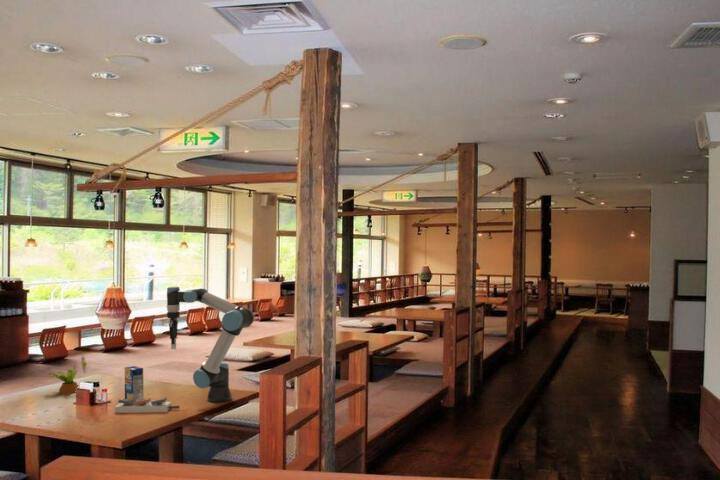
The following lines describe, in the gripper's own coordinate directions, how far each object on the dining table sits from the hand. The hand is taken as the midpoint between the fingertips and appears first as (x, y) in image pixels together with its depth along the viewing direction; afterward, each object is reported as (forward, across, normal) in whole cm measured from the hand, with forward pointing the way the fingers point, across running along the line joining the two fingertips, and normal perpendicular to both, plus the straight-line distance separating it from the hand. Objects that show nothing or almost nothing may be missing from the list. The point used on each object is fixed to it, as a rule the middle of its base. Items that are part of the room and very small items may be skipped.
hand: (173, 349), depth 422 cm
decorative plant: (+33, -31, -79) cm, 91 cm away
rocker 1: (+27, +24, -22) cm, 42 cm away
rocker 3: (+27, +24, -2) cm, 36 cm away
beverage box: (+33, +6, -23) cm, 40 cm away
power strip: (+32, +23, -9) cm, 41 cm away
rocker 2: (+27, +24, -12) cm, 38 cm away
